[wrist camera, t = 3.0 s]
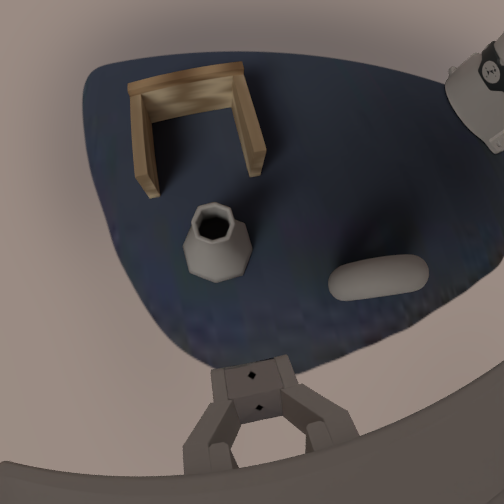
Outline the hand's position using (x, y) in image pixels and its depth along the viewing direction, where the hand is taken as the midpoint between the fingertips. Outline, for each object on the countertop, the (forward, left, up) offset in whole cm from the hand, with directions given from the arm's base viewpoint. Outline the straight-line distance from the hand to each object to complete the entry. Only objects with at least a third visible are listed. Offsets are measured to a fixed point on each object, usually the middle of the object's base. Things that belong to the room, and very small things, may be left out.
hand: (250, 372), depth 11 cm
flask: (0, -9, -20) cm, 21 cm away
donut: (-14, -2, -20) cm, 24 cm away
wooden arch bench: (0, -21, -19) cm, 28 cm away
